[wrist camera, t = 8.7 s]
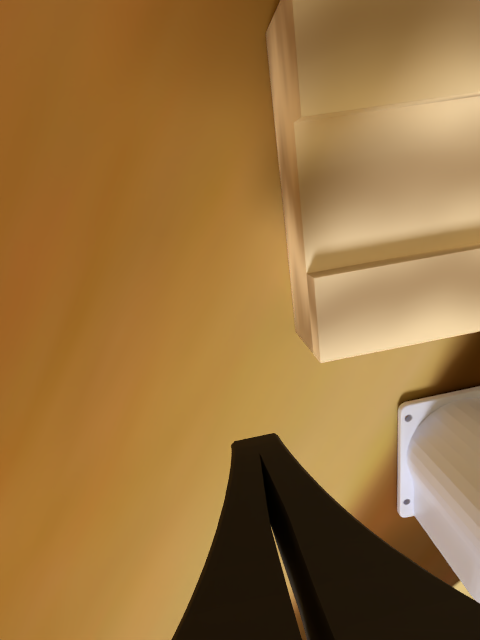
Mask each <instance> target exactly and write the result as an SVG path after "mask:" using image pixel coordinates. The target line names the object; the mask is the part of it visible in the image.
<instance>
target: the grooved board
mask: <svg viewBox="0 0 480 640" xmlns="http://www.w3.org/2000/svg"><path fill="white" fill-rule="evenodd" d="M266 42H267V52H268V62H269V72H270V82H271V91H272V101H273V111H274V121H275V131H276V141H277V151H278V161H279V171H280V180H281V190H282V200H283V210H284V220H285V230H286V240H287V250H288V259H289V269H290V279H291V289H292V299H293V309H294V319H295V329H296V333H297V334H298V336H299V337H300V338H301V339H302V340H303V342H304V343H305V344H306V345H307V347H308V348H309V349H310V350H311V352H312V353H313V354H314V355H315V357H316V358H317V359H318V360H319V362H320V363H323V362H328V361H333V360H338V359H343V358H348V357H353V356H358V355H363V354H368V353H373V352H378V351H383V350H388V349H393V348H398V347H403V346H408V345H413V344H418V343H423V342H428V341H433V340H439V339H444V338H449V337H454V336H459V335H464V334H469V333H474V332H479V331H480V0H280V2H279V4H278V7H277V9H276V11H275V13H274V16H273V18H272V20H271V22H270V25H269V27H268V29H267V31H266Z"/></svg>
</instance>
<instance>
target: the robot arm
mask: <svg viewBox="0 0 480 640" xmlns="http://www.w3.org/2000/svg"><path fill="white" fill-rule="evenodd" d="M407 415H408V417H406V416H407ZM405 417H406V418H405ZM231 448H232V457H231V468H230V475H229V480H228V485H227V490H226V495H225V500H224V504H223V508H222V511H221V515H220V519H219V522H218V526H217V530H216V533H215V536H214V539H213V542H212V545H211V548H210V551H209V554H208V557H207V559H206V562H205V565H204V568H203V570H202V573H201V575H200V578H199V580H198V583H197V585H196V588H195V590H194V592H193V595H192V597H191V600H190V602H189V604H188V606H187V609H186V611H185V613H184V615H183V617H182V619H181V622H180V624H179V626H178V628H177V630H176V632H175V634H174V636H173V638H172V640H302V639H301V635H300V631H299V628H298V624H297V621H296V617H295V614H294V610H293V607H292V603H291V600H290V596H289V593H288V589H287V585H286V582H285V578H284V574H283V571H282V567H281V563H280V560H279V556H278V552H277V548H276V545H275V541H274V537H273V533H274V536H275V539H276V542H277V545H278V548H279V551H280V554H281V557H282V560H283V563H284V566H285V569H286V572H287V575H288V578H289V581H290V584H291V587H292V590H293V593H294V596H295V599H296V602H297V605H298V609H299V612H300V615H301V619H302V622H303V626H304V629H305V633H306V637H307V640H480V386H478V387H473V388H469V389H464V390H459V391H455V392H450V393H445V394H440V395H436V396H431V397H426V398H421V399H417V400H412V401H407V402H404V403H402V404H401V405H400V406H399V408H398V486H397V511H398V513H399V514H400V516H401V517H410V516H415V517H416V518H417V520H418V521H419V523H420V524H421V525H422V527H423V528H424V530H425V531H426V532H427V534H428V535H429V537H430V538H431V540H432V541H433V542H434V544H435V545H436V547H437V548H438V549H439V551H440V552H441V554H442V555H443V556H444V558H445V559H446V561H447V562H448V563H449V565H450V566H451V568H452V569H453V570H454V572H455V573H456V575H457V576H458V578H459V579H460V580H461V582H462V583H463V585H464V586H465V587H466V589H467V590H468V592H469V593H470V594H471V596H472V597H473V598H474V599H475V600H476V601H475V600H473V599H471V598H470V597H468V596H466V595H464V594H463V593H461V592H459V591H458V590H456V589H455V588H453V587H451V586H450V585H448V584H447V583H445V582H443V581H442V580H440V579H439V578H437V577H435V576H434V575H432V574H431V573H429V572H428V571H426V570H425V569H423V568H422V567H420V566H419V565H417V564H416V563H415V562H413V561H412V560H410V559H409V558H407V557H406V556H404V555H403V554H401V553H400V552H398V551H397V550H396V549H394V548H393V547H391V546H390V545H389V544H387V543H386V542H385V541H383V540H382V539H381V538H379V537H378V536H377V535H375V534H374V533H373V532H372V531H370V530H369V529H368V528H367V527H365V526H364V525H363V524H362V523H360V522H359V521H358V520H357V519H356V518H354V517H353V516H352V515H351V514H350V513H349V512H347V511H346V510H345V509H344V508H343V507H342V506H341V505H340V504H339V503H337V502H336V501H335V500H334V499H333V498H332V497H331V496H330V495H329V494H328V493H327V492H326V491H325V490H324V489H323V488H322V487H321V486H320V485H319V484H318V483H317V482H316V481H315V480H314V479H313V478H312V477H311V476H310V475H309V474H308V472H307V471H306V470H305V469H304V468H303V467H302V466H301V465H300V464H299V463H298V461H297V460H296V459H295V458H294V457H293V455H292V454H291V453H290V452H289V450H288V449H287V448H286V447H285V445H284V444H283V442H282V441H281V440H280V438H279V437H278V435H276V434H275V433H272V434H267V435H262V436H258V437H253V438H248V439H243V440H239V441H234V443H233V444H232V445H231ZM271 527H272V530H273V533H272V530H271Z"/></svg>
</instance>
